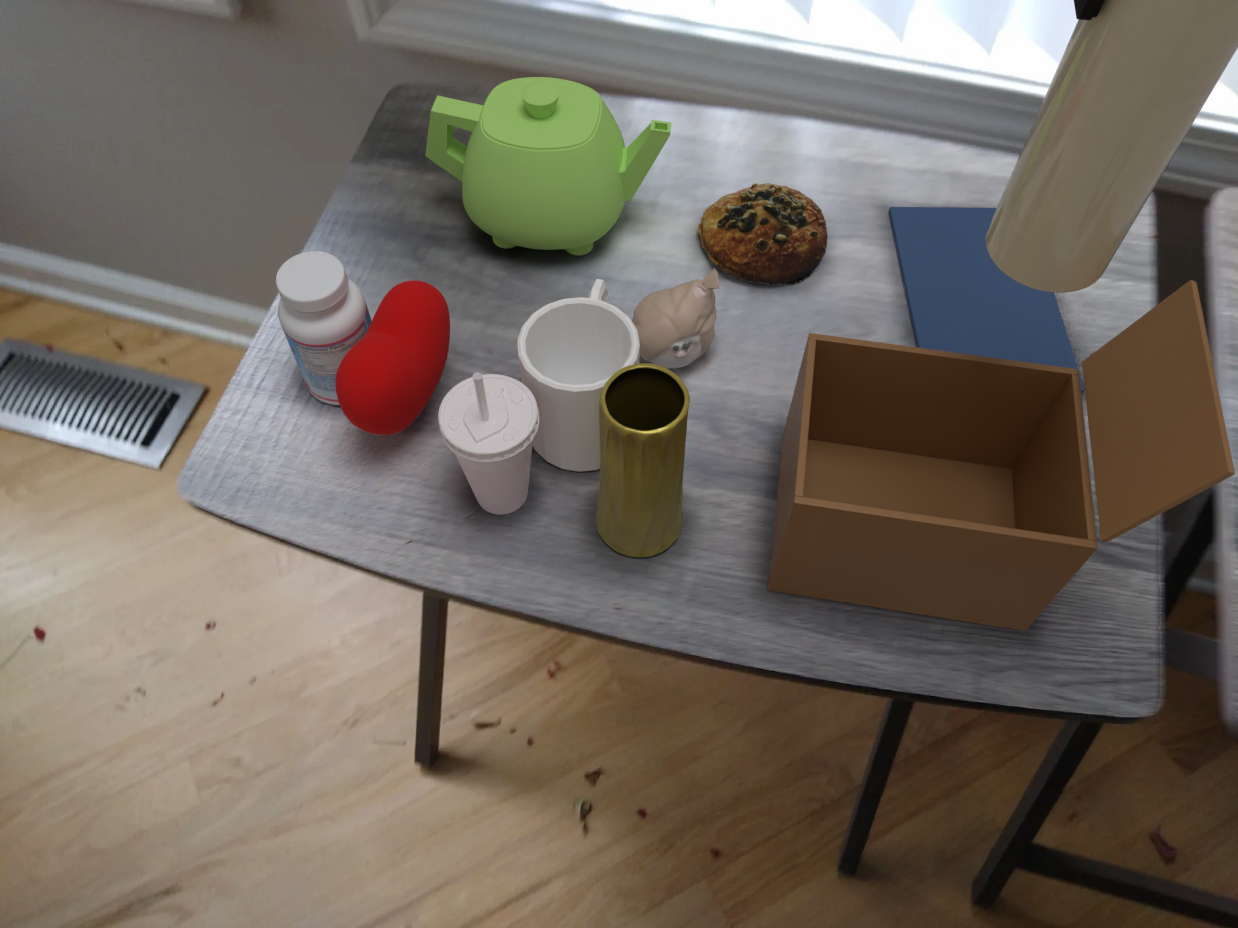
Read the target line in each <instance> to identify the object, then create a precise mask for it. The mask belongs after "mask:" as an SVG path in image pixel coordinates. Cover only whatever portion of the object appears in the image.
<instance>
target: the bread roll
mask: <svg viewBox="0 0 1238 928" xmlns="http://www.w3.org/2000/svg"><path fill="white" fill-rule="evenodd" d="M697 233H698V235H699V238H700V240H701V241H700V243H701V247H702V250H704V252H705V253H706V255H707V257H708V258H709V260H710V261H711V262H712V263H713V264H714V265H715V266H716V267H717V268H718V269H719V270H720V271H722V272H723V273H726V274H727V275H729V276H731V277H733V278H734V279H737V280H743V281H746V282H751V283H755V284H763V285H767V284H768V285H786V286H787V285H795V284H796V283H798V284H799V283H801V282H803V281H804V280H805V279H806V278H809V277H810V276H811V275H812V274H813V272H815V270H816V269H817V267H818V266H819V265H820V263H821V262H822V260H823V258H824V256H825V254H826V252H827V246H828V229H827V222H826V219H825V216H824V213H823V211H822V209H821V207H819V205H818V204H817V203H816V202H815V201H814V200H813V199H812V198H810V197H809V196H807V195H806V194H804V193H802V192H801V190H797V189H794V188H791V187H789V186H787V185H778V184H776V183H770V182H765V183H753V184H751V186H748V187H747V188H746V187H745V188H743V189H740V190H737V191H735V192H732V193H727V194H725V195H722V196H721V197H720V198H719V199H718V200H716V201H715V202H714V203H712V204H710V205H709V206H708V207H706V208H705V209H704V211H703V212H702V217H701V218H700V223H698V224H697Z"/></svg>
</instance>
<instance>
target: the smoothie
mask: <svg viewBox="0 0 1238 928" xmlns="http://www.w3.org/2000/svg"><path fill="white" fill-rule="evenodd" d="M437 419H438V425H439V433H440V435H441V438H442V440H443V443H445V444H446V446H447V447H448V449H450V451H451V452H453V453H454V455H455V457H456V459H457V461H458V463H459V465H460V468H461V470H462V472H463V474H464V476H465V477H466V480H467V482H468V484H469V486H470V489H471V490H472V493H473V494H474V497H475V499H476V501H477V503H478V504H479V506H480V507H481V508H482V509H483V510H484V511H486V512H488V513H490V514H493V515H498V516H499V515H502V516H503V515H509V514H512V513H514V512H516V511H517V510H519V509H520V508H521V507H522V506H523V505H524V504H525V503H526V501H527V499H528V494H529V486H530V485H529V483H530V476H531V475H530V474H531V463H532V454H533V445H532V444H533V438H534V436H535V435H536V433H537V431H538V426H539V421H540V418H539V411H538V408H537V403H536V400H535V398H534V396H533V394H532V392H531V391H530V390H529V389H528V388H527V387H526V386H525V385H524V384H523V383H522V381H521V380H518V379H515V378H514V377H511V376H509V375H508V376H507V375H504V374H498V373H484V374H482V372H474V373H473V375H472V376H471V377H469V378H466V379H464V380H462V381H460V382H459V383H457V384H455V385H454V386H453V387H452V388H451V389H450V390H449V391H447V393H446V395H444V397H443V399H442V401H441V403H440V405H439V409H438V413H437Z"/></svg>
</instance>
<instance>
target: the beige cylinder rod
mask: <svg viewBox="0 0 1238 928" xmlns="http://www.w3.org/2000/svg"><path fill="white" fill-rule="evenodd" d="M1237 50H1238V0H1104V3H1103V5H1102V7H1101V9H1100V11H1099V14H1098V16H1097V17H1093V18H1092V19H1091V20H1080V19H1077V22H1076V24H1075V26H1074V29H1073V31H1072V34H1071V36H1070V38H1069V40H1068V42H1067V44H1066V47H1065V50H1064V53H1063V55H1062V57H1061V59H1060V62H1059V64H1058V66H1057V68H1056V71H1055V73H1054V75H1053V76H1052V77H1053V78H1052V80H1051V82H1050V84H1049V87H1048V88H1047V92H1046V93H1045V96H1044V98H1043V101H1042V103H1041V105H1040V106H1039V107H1040V108H1039V110H1038V112H1037V114H1036V117H1035V119H1034V121H1033V124H1032V125H1031V128H1030V131H1029V132H1028V135H1027V137H1026V140H1025V142H1024V144H1023V147H1022V149H1021V151H1020V153H1019V156H1018V158H1017V160H1016V163H1015V164H1014V168H1013V170H1012V171H1011V174H1010V177H1009V179H1008V181H1007V183H1006V186H1005V187H1004V191H1003V193H1002V195H1001V198H1000V199H999V202H998V205H997V207H996V208H997V209H996V211H995V214H994V216H993V218H992V220H991V223H990V225H989V227H988V230H987V233H986V247H987V251H988V253H989V255H990V257H991V259H992V260H993V262H994V263H995V264H996V266H997V267H998V268H999V269H1000V270H1001V271H1002V272H1003V273H1005V274H1006V275H1007V276H1009V277H1010V278H1012V279H1013V280H1015V281H1017V282H1019V283H1021V284H1023V285H1025V286H1028V287H1030V288H1033V289H1037V290H1041V291H1046V292H1054V294H1055V293H1056V294H1057V293H1058V294H1059V293H1060V294H1065V293H1073V292H1078V291H1081V290H1085V289H1086V288H1089V287H1090V286H1092V285H1094V284H1095V283H1096V282H1097V281H1099V280H1100V279H1101V278H1102V276H1103V275H1104V273H1105V271H1106V270H1107V268H1108V266H1109V265H1110V263H1111V261H1112V260H1113V258H1114V256H1115V255H1116V253H1117V251H1118V249H1119V248H1120V246H1121V245H1122V243H1123V241H1124V240H1125V238H1126V236H1127V235H1128V233H1129V231H1130V230H1131V228H1132V226H1133V225H1134V223H1135V221H1136V219H1137V218H1138V216H1139V215H1140V213H1141V211H1142V209H1143V208H1144V206H1145V205H1146V202H1147V201H1148V199H1149V198H1150V196H1151V194H1152V193H1153V192H1154V189H1155V188H1156V186H1157V184H1158V183H1159V181H1160V179H1161V177H1162V176H1163V174H1164V172H1165V171H1166V169H1167V168H1168V166H1169V164H1170V162H1171V161H1172V159H1173V158H1174V156H1175V154H1176V153H1177V151H1178V149H1179V147H1180V146H1181V145H1182V142H1183V141H1184V139H1185V137H1186V136H1187V134H1188V132H1189V131H1190V129H1191V127H1192V126H1193V124H1194V122H1195V121H1196V119H1197V117H1198V116H1199V114H1200V112H1201V111H1202V109H1203V107H1204V105H1205V103H1206V102H1207V100H1208V99H1209V97H1210V95H1211V93H1212V92H1213V91H1214V89H1215V87H1216V85H1217V83H1218V82H1219V80H1220V78H1221V77H1222V75H1223V74H1224V72H1225V70H1226V68H1227V67H1228V65H1229V64H1230V62H1231V60H1232V59H1233V57H1234V56H1235V53H1236V52H1237Z"/></svg>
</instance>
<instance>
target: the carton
mask: <svg viewBox="0 0 1238 928" xmlns="http://www.w3.org/2000/svg"><path fill="white" fill-rule="evenodd" d="M800 363H801V364H800V367H799V371H798V375H797V378H796V382H795V387H794V390H793V394H792V398H791V402H790V405H789V409H788V413H787V418H786V421H785V425H784V429H783V432H782V440H781V451H780V461H779V470H778V479H777V489H776V490H777V491H776V499H775V510H774V519H773V530H772V538H771V539H772V540H771V541H772V542H771V549H770V559H769V560H770V561H769V570H768V580H767V591H768V592H777V593H783V594H787V595H788V594H789V595H794V596H801V597H807V598H815V599H819V600H826V601H833V602H840V603H846V604H853V605H858V606H864V607H869V608H870V607H871V608H875V609H876V608H878V609H884V610H890V611H896V612H902V613H909V614H914V615H915V614H916V615H921V616H927V617H932V618H933V617H934V618H940V619H946V620H953V621H959V622H965V623H972V624H978V625H983V626H990V627H998V628H1003V629H1009V630H1015V631H1022V632H1026V631H1028V629H1029V628H1030V627H1031V625H1033V623H1034V622H1035V621H1036V620H1037V619H1038V617H1039V616H1040V615H1041V614H1042V613H1043V612H1044V610H1045V609H1046V608H1047V607H1048V606H1049V605H1050V603H1052V601H1054V599H1055V598H1056V597H1057V596H1058V594H1059V593H1060V592H1061V591H1062V590H1063V589H1064V588H1065V587H1066V585H1067V584H1068V583H1069V582H1070V581H1071V579H1072V578H1073V577H1074V576H1075V575H1076V574H1077V572H1078V571H1079V570H1080V569H1081V568H1082V567H1083V566H1084V565H1085V563H1087V561H1088V560H1089V559H1090V558H1091V557H1092V556H1093V554H1094V553H1095V552H1096V551H1097V550H1098V549H1099V548H1098V539H1097V538H1098V537H1097V528H1096V517H1095V510H1094V509H1095V508H1094V498H1093V490H1092V481H1091V472H1090V463H1089V453H1088V441H1087V433H1086V424H1085V416H1084V415H1085V414H1084V404H1083V396H1082V395H1083V394H1081V385H1080V376H1081V375H1080V376H1079V373H1080V369H1079V368H1078V369H1073V368H1066V367H1058V366H1051V365H1044V364H1036V363H1029V362H1021V361H1014V360H1007V359H999V358H992V357H984V356H977V355H970V354H962V353H955V352H947V351H940V350H932V349H925V348H918V347H916V346H911V345H910V346H909V345H903V344H894V343H887V342H881V341H874V340H873V341H872V340H864V339H859V338H858V339H857V338H850V337H844V336H834V335H828V334H827V335H826V334H821V333H814V332H813V333H812V332H809V333H808V336H807V338H806V343H805V347H804V350H803V355H802V359H801V362H800Z"/></svg>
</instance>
